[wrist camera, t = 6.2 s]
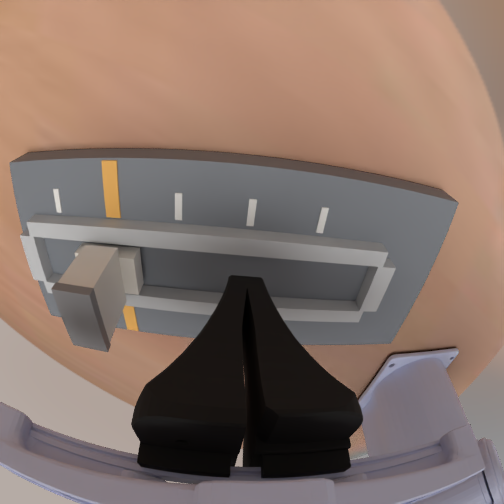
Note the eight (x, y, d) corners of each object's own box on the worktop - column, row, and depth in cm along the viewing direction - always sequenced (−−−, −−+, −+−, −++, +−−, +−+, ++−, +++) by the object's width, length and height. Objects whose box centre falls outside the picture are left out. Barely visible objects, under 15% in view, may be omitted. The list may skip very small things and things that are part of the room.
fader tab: (144, 291, 14) (122, 354, 11) (92, 284, 14) (61, 341, 10) (138, 236, 12) (105, 297, 9) (80, 232, 12) (38, 286, 9)
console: (383, 326, 19) (394, 352, 17) (60, 299, 17) (46, 323, 15) (442, 190, 13) (467, 209, 11) (27, 152, 12) (-1, 168, 10)
